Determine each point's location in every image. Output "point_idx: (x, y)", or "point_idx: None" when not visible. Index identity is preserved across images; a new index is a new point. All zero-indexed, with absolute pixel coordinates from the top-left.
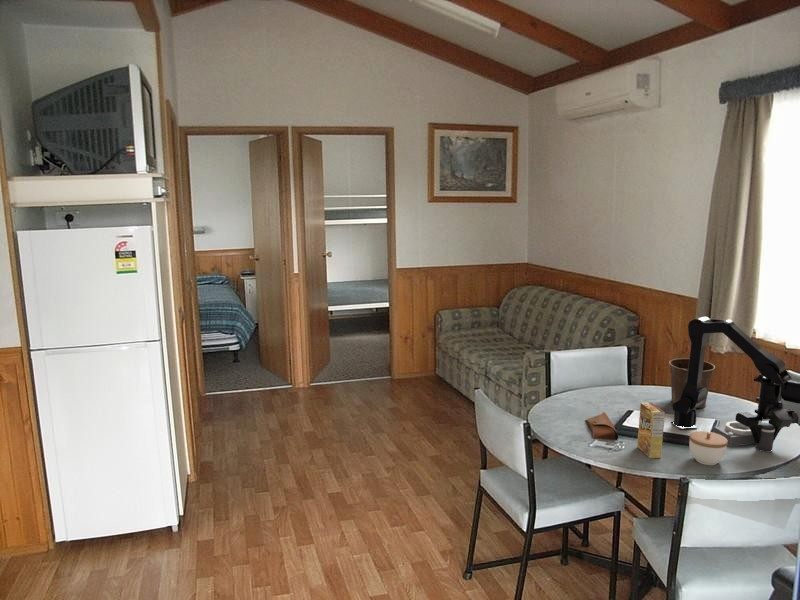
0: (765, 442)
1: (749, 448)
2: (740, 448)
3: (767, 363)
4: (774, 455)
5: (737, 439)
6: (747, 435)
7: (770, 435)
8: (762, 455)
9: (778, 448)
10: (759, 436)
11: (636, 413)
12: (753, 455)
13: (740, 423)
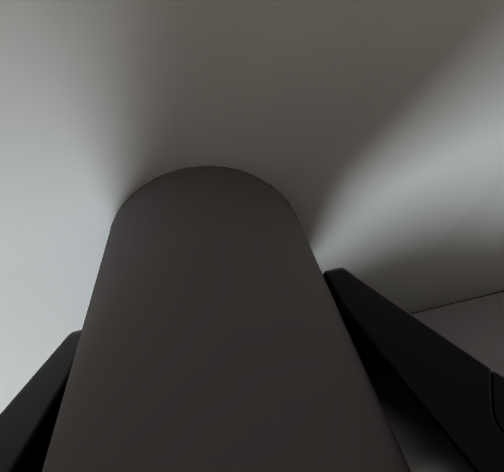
0: (265, 256)
1: (375, 245)
2: (476, 236)
3: None
4: (151, 28)
5: (489, 355)
6: None
7: (188, 396)
8: (355, 22)
9: (5, 280)
10: (414, 359)
11: None
12: (494, 18)
13: None
